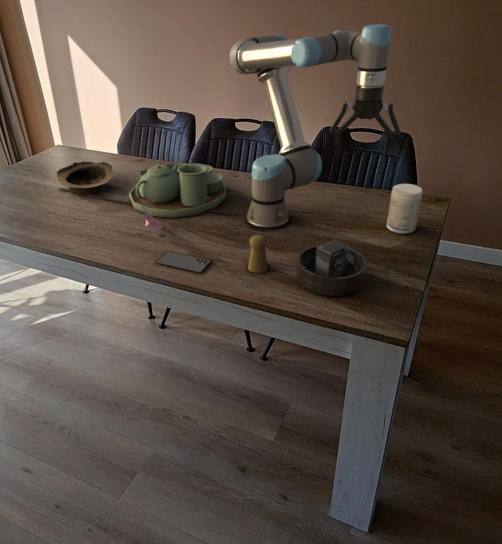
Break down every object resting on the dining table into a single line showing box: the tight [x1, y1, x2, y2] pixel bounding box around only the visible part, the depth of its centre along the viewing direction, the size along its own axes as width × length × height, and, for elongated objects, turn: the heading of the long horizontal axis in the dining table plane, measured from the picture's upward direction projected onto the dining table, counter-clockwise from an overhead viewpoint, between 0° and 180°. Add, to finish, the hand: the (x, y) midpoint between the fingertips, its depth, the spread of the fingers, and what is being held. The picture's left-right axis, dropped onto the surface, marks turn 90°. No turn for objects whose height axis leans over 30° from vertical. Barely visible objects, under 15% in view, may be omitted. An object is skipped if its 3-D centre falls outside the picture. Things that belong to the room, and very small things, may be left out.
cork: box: [247, 234, 268, 274], centre depth 155 cm, size 6×6×11 cm
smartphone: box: [156, 251, 211, 273], centre depth 163 cm, size 8×1×16 cm
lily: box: [140, 206, 163, 236], centre depth 181 cm, size 12×12×10 cm
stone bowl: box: [56, 161, 115, 196], centre depth 221 cm, size 25×25×9 cm
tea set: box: [128, 162, 227, 218], centre depth 204 cm, size 40×40×16 cm
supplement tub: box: [386, 183, 423, 235], centre depth 170 cm, size 10×10×15 cm
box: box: [314, 238, 351, 277], centre depth 146 cm, size 8×6×11 cm
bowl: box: [295, 244, 368, 297], centre depth 148 cm, size 20×20×6 cm
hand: (361, 157), depth 154 cm, fingers open, 13 cm apart
